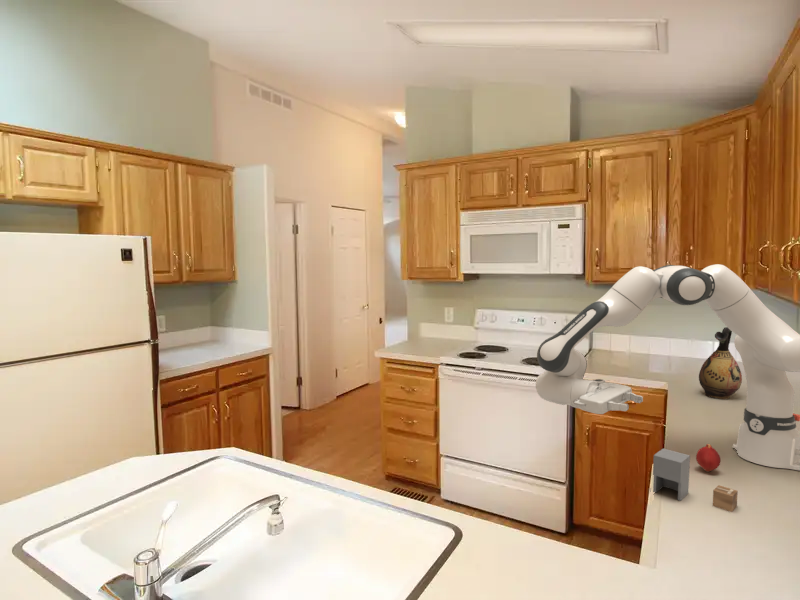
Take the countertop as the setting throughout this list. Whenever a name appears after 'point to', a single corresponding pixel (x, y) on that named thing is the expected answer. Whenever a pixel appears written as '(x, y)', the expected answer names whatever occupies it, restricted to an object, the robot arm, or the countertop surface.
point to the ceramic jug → (721, 370)
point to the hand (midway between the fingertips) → (634, 403)
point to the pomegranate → (708, 458)
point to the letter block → (725, 498)
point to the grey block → (671, 471)
